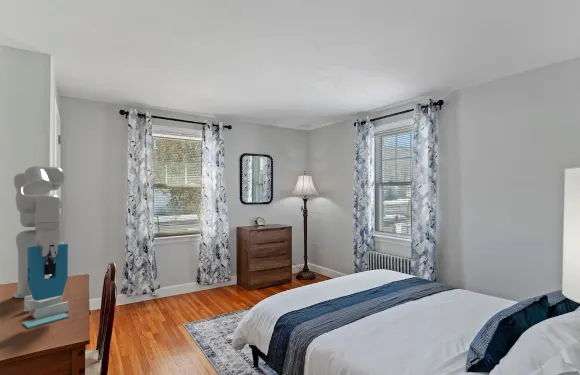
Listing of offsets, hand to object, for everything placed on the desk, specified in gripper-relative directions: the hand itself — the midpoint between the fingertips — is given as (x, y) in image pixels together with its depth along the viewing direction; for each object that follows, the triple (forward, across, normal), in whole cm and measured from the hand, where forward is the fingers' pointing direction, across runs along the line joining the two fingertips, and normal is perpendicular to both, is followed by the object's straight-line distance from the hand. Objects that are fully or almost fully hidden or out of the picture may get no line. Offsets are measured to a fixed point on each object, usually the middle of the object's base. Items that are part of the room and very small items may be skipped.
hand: (47, 272), depth 122 cm
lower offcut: (+19, -9, +3) cm, 21 cm away
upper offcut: (+16, -8, +3) cm, 18 cm away
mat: (+19, 0, 0) cm, 19 cm away
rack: (+19, -12, +3) cm, 22 cm away
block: (+10, 0, 0) cm, 10 cm away
